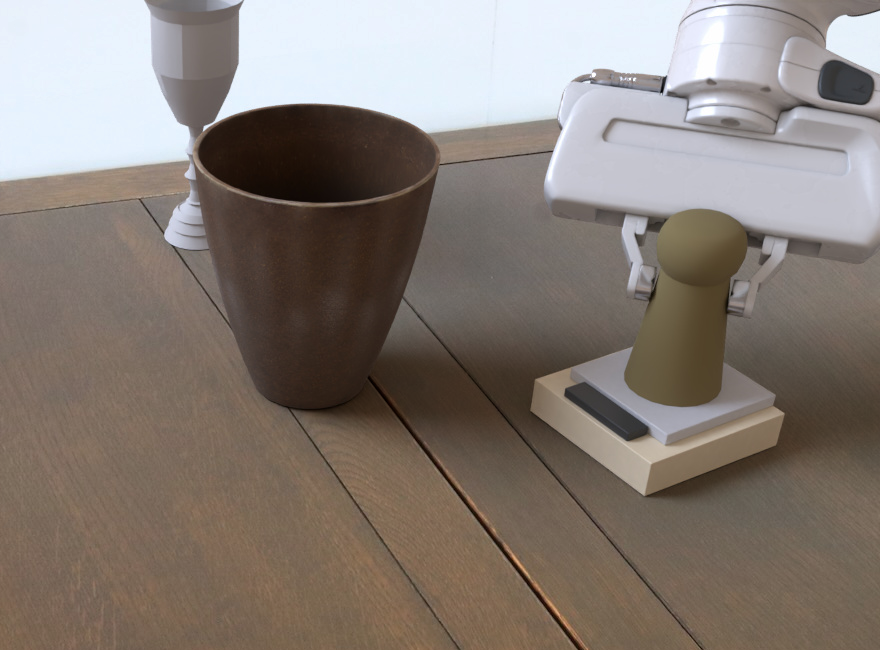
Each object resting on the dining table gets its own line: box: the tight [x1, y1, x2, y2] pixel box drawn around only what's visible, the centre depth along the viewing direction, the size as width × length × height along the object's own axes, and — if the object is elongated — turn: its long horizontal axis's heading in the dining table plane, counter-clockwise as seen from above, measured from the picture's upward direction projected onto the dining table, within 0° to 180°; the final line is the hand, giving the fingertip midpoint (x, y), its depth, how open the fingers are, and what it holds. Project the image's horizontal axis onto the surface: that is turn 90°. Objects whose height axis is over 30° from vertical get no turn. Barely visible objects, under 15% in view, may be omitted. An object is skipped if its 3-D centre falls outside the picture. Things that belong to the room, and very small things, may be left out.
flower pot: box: [192, 102, 441, 410], centre depth 100 cm, size 15×15×16 cm
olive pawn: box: [624, 209, 748, 407], centre depth 95 cm, size 6×6×11 cm
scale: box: [530, 346, 786, 497], centre depth 100 cm, size 11×11×3 cm
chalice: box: [143, 0, 245, 251], centre depth 115 cm, size 7×7×18 cm
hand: (688, 305), depth 95 cm, fingers open, 5 cm apart
